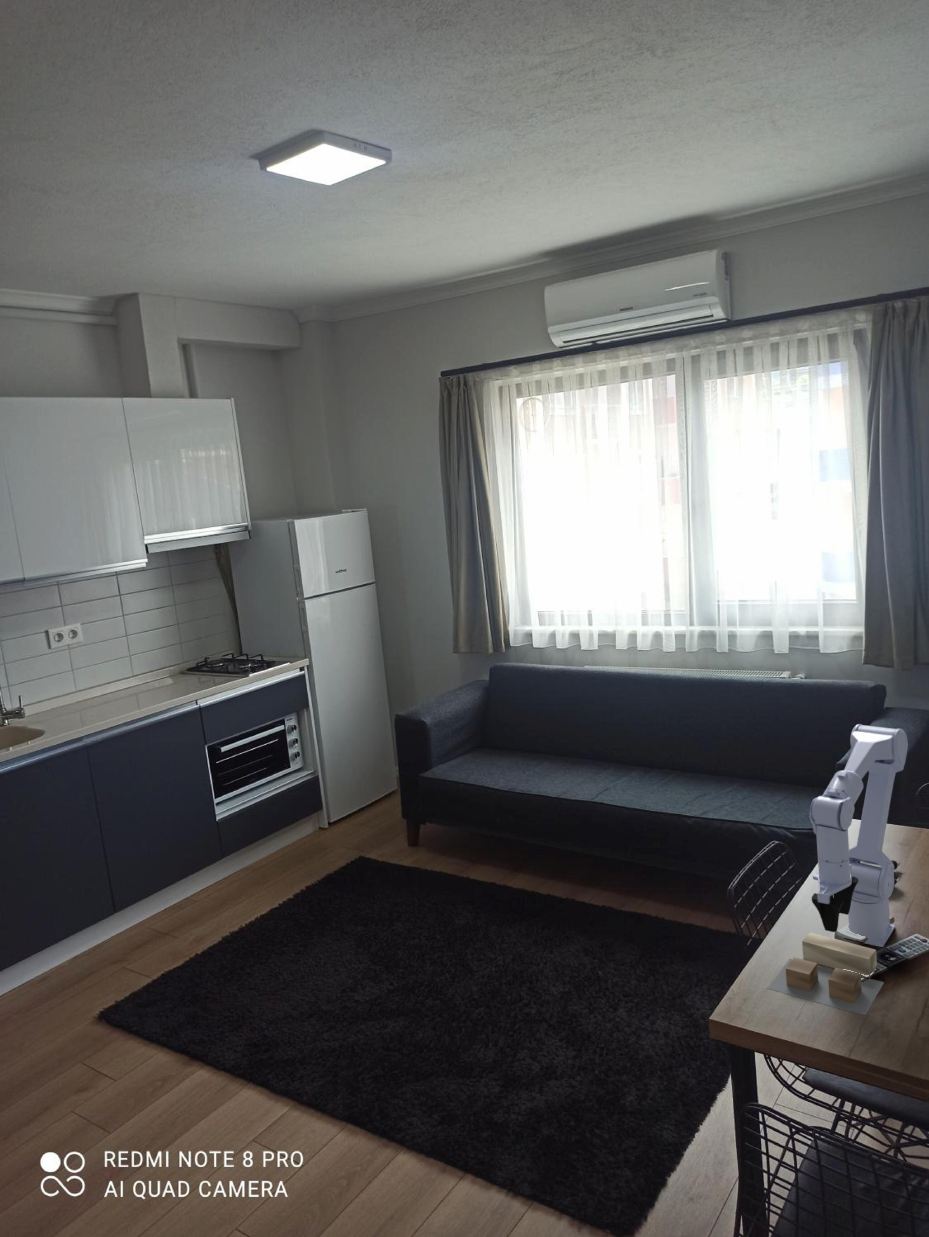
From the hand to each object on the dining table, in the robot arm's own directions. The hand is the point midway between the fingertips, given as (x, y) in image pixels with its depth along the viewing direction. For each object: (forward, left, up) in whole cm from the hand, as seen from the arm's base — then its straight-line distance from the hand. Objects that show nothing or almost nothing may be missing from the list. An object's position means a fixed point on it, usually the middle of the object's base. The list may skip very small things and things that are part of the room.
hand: (837, 921), depth 181 cm
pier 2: (+10, +4, -9) cm, 14 cm away
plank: (0, 0, -10) cm, 10 cm away
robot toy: (-39, -5, -10) cm, 40 cm away
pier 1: (+10, -4, -9) cm, 14 cm away
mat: (+9, 0, -9) cm, 13 cm away
